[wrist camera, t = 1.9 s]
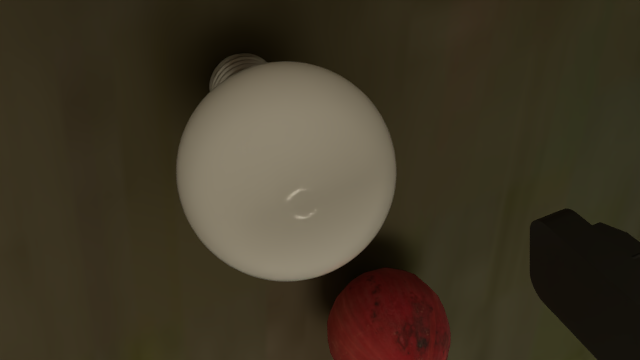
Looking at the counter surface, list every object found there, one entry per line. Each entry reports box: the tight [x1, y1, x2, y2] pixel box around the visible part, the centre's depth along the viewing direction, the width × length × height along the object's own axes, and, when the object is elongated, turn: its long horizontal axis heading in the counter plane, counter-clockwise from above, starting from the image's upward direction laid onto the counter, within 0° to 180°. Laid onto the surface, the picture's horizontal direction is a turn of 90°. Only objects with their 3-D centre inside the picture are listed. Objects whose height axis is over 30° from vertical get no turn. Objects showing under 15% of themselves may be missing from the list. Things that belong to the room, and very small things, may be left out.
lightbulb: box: [176, 53, 396, 281], centre depth 19 cm, size 6×6×11 cm
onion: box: [327, 267, 451, 360], centre depth 28 cm, size 6×6×8 cm
